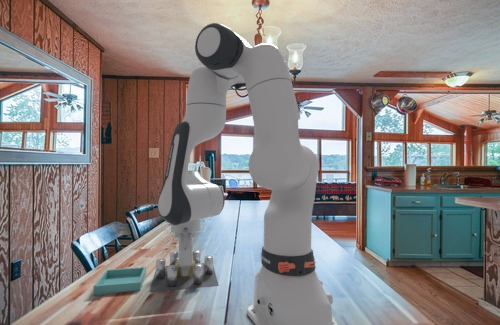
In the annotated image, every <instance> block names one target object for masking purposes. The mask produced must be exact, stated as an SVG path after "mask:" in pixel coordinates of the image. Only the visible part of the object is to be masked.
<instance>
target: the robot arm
mask: <svg viewBox="0 0 500 325" xmlns="http://www.w3.org/2000/svg"><path fill="white" fill-rule="evenodd" d="M194 43H195V44H194V51H195V55H196V57H197V59H198V61H199V62H200V63H201V64H202V65H203V66H200V67H199V66H198V67H197V68H195V69H193V71H192V72H191V73H190V76H189V79H188V80H189V81H188V85H187V91H186V92H187V93H186V99H185V100H186V103H185V108H186V109H185V114H184V116H183V119H182V121H181V122H180V123H177V124H176V126H175V128H174V130H173V132H172V137H171V142H170V147H169V152H168V158H167V162H166V166H165V167H166V168H165V173H164V174H165V175H164V179H163V183H162V187H161V190H160V193H159V195H158V198H157V212H158V215H160V217H161V219H163V220H164V221H166V223H168V224H170V232H171V233H173V234H174V237H175V238H176V239H178V265H179V267H182V276H188V269H189V266H191V265H192V255H193V251H194V248H193V246H194V245H193V242H194V240H193V238H195V237H196V236H197V233H198V232H200V231H201V229H202V228H201V227H202V226H201V225H202V220H203V219H207V218H212V217H215V216H218V215H220V214H221V212H223V209H224V207H225V199H226V198H225V194H224V191H223V190H222V188H221V187H220V186H219V185H218V184H215V183H212V182H210V181H208V180H206V179H205V178H203V176H202V175H201V173H200V172H199V171H197V170H188V169H189V164H190V158H191V153H192V152H193V150H194V149H195V148H196V147H197V146H198V145H199V144H202V143H204V142H207V141H210V140H212V139H214V138H216V137H217V136H218V135H219V134H221V132H222V131H223V130H224V128H225V126H226V122H227V96H228V95H227V93H228V91H229V89H231V90H234V91H236V90H240V89H241V88H243V87H245V88H246V93H247V97H248V101H249V106H250V107H249V108H250V111H251V115H252V120H253V121H252V122H253V130H254V132H253V133H254V136H253V137H254V139H253V140H254V141H253V149H252V152H251V154H250V156H249V159H248V173H249V175H250V178H251V179H252V180H253V182H254V183H255V184H257V186H259V187H261V188H264V189H266V190H268V191H269V190H270V191H271V194H270V198H269V201H268V205H267V208H266V209H265V212H264V215H263V246H261V252H260V258H261V260H260V262H261V267H260V269H259V271H258V272H256V274H255V276H254V279H255V280H254V287H253V288H254V289H253V290H254V291H253V304H251V305H249V306H248V307H247V308H246V315H247V316H248V317H249V318H250V320H252V322H253V324H254V325H339V324H338V322H337V321H336V319H335V317H334V316H333V311H332V305H333V302H334V301H333V294H332V293H331V292H325V289H324V287H323V284H324V283H323V281H322V280H321V279H320V278H319V277H318V274H317V273H316V268H317V265H316V264H317V263H316V261H315V260H316V259H315V255H314V250H313V249H312V222H313V221H312V220H313V218H312V217H313V209H314V202H315V196H316V192H317V191H316V189H317V181H318V174H319V171H320V162H319V159H318V157H317V155H316V154H315V153H314V151H312V149H311V148H309V147H307V146H305V145H303V144H301V139H300V132H299V118H300V110H299V106H298V102H297V99H296V94H295V91H294V86H293V83H292V77H291V75H290V71H289V69H288V67H287V64H286V62H285V59H284V57H283V54H282V53H281V51H280V49H279V48H278V47H277V46H276V45H274V44H271V43H259V44H257V45H255V46H251V45H250V44H249V42H247V40H246V39H245V38H243V37H242V36H241V35H239V34H238V33H237V32H234V30H233V29H231V28H230V27H228V26H226V25H224V24H222V23H217V22H216V23H215V22H214V23H209V24H207V25H205V26H204V27H203V28H202V29H201V30H200V31H199V33H198V35H197V36H196V39H195V42H194Z"/></svg>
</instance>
